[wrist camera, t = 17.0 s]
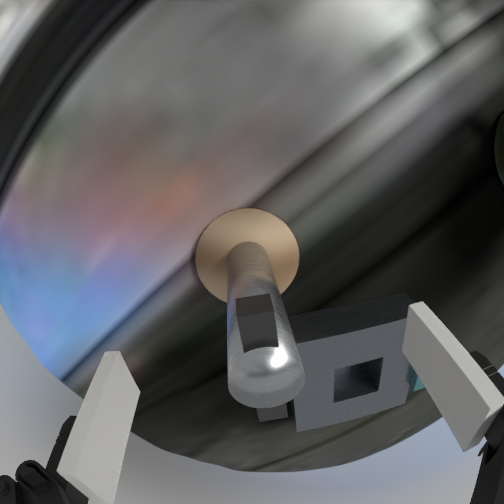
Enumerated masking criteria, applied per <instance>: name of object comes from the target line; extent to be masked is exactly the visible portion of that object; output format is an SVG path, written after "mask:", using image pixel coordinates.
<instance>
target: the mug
mask: <svg viewBox="0 0 504 504" xmlns="http://www.w3.org/2000/svg"><path fill="white" fill-rule="evenodd" d="M494 154H495V162H496V167H497V171H498V174H499V177H500V179H501V182H502V183H503V185H504V113H503V115H502V116H501V118H500V120H499V122H498V124H497V128H496V132H495V140H494Z"/></svg>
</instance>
